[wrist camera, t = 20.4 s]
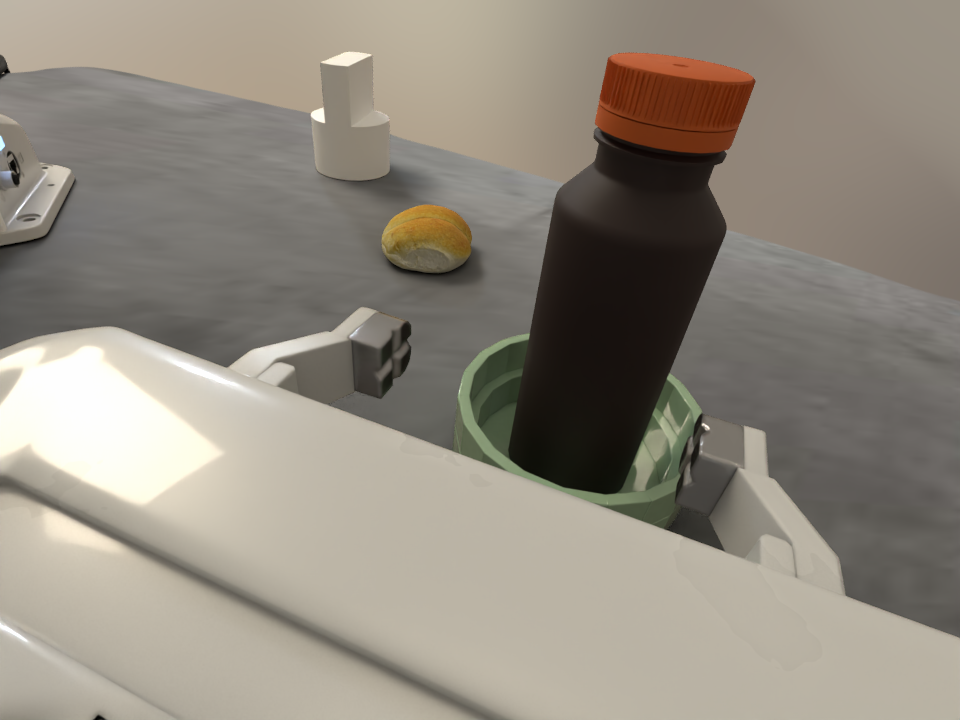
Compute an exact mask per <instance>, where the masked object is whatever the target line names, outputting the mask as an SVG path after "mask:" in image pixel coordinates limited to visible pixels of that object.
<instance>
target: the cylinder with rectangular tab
mask: <svg viewBox="0 0 960 720" xmlns="http://www.w3.org/2000/svg"><path fill="white" fill-rule="evenodd" d="M320 67H321V78H322V92H323V105H324V108H321V109H318V110H315V111H313V112H312V113H311V121H312V132H313V143H314V154H315V164H316V170H317V171H318V172H319V173H321V174H323V175H325V176H328V177H331V178H336V179H341V180H356V181H361V180H371V179H376V178H380V177H382V176H385V175H386V174H387V173H389V170H390V131H389V117H388V116H387V115H386V114H384V113H382V112H379V111H376V110H374V104H373V103H374V102H373V63H372V55H371V54H365V53H358V52H345V53H342V54H340V55H337V56H335V57H333V58H330V59H328V60H325V61H323V62H321V63H320Z"/></svg>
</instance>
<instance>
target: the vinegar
mask: <svg viewBox="0 0 960 720" xmlns="http://www.w3.org/2000/svg"><path fill="white" fill-rule="evenodd" d="M754 84H755V79H754V78H753V77H752V76H751V75H749V74H748V73H746V72H743V71H740V70H737V69H734V68H731V67H727V66H724V65H719V64H715V63H710V62H705V61H700V60H694V59H689V58H683V57H676V56H668V55H659V54H648V53H618V54H615V55H612V56H610V57H609V58H608V62H607V66H606V71H605V76H604V80H603V85H602V90H601V94H600V101H599V105H598V110H597V115H596V120H595V124H596V125H597V126H598V128H596V129H595V131H594V139H595V140H596V141H597V142H598V143H599V146H598V150H597V154H596V159H595V161H594V162H593V163H592V164H591V165H590V166H588V167H587V168H585V169H584V170H583V171H581V172H580V173H579V174H578V175H576V176H575V177H574V178H572V179H571V180H570V181H568V182H567V183H566V184H564V185H563V186H562V187H561V188H560V189H559V191H558V192H557V194H556V198H555V202H554V207H553V212H552V217H551V223H550V228H549V234H548V239H547V244H546V250H545V255H544V260H543V266H542V271H541V276H540V282H539V287H538V292H537V298H536V303H535V309H534V314H533V319H532V325H531V330H530V335H529V341H528V346H527V351H526V357H525V362H524V367H523V373H522V378H521V384H520V389H519V394H518V400H517V405H516V410H515V416H514V421H513V426H512V432H511V437H510V443H509V448H508V452H509V457H510V460H511V461H512V462H513V463H515V464H516V465H517V466H519V467H520V468H521V469H523V470H524V471H526V472H528V473H531V474H533V475H535V476H538V477H540V478H542V479H545V480H547V481H549V482H552V483H554V484H556V485H559V486H561V487H563V488H569V489H575V490H581V491H587V492H593V493H599V494H605V495H607V494H616V493H617V492H619V491H620V490H621V489H622V488H623V485H624V483H625V481H626V478H627V476H628V473H629V471H630V468H631V466H632V464H633V461H634V459H635V456H636V454H637V451H638V449H639V446H640V444H641V441H642V439H643V436H644V434H645V431H646V429H647V427H648V424H649V422H650V419H651V417H652V414H653V412H654V409H655V407H656V404H657V402H658V399H659V397H660V394H661V392H662V390H663V387H664V385H665V382H666V380H667V377H668V375H669V372H670V370H671V367H672V365H673V362H674V360H675V357H676V355H677V353H678V350H679V348H680V345H681V343H682V340H683V338H684V335H685V333H686V330H687V328H688V325H689V323H690V320H691V318H692V316H693V313H694V311H695V308H696V306H697V303H698V301H699V298H700V296H701V293H702V291H703V288H704V286H705V284H706V281H707V279H708V276H709V274H710V271H711V269H712V266H713V264H714V261H715V259H716V256H717V254H718V251H719V249H720V247H721V244H722V242H723V239H724V237H725V234H726V223H725V219H724V217H723V215H722V213H721V211H720V209H719V207H718V205H717V202H716V201H715V198H714V196H713V194H712V192H711V190H710V188H709V186H708V181H709V178H710V175H711V173H712V170H713V168H714V165H717V164H720V163H722V162H723V161H724V159H725V157H726V155H727V154H726V152H725V151H724V150H728V149H729V148H730V147H731V145H732V143H733V140H734V138H735V135H736V132H737V130H738V127H739V124H740V122H741V119H742V116H743V114H744V111H745V108H746V105H747V103H748V100H749V98H750V95H751V92H752V90H753V87H754Z"/></svg>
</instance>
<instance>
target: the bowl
mask: <svg viewBox="0 0 960 720" xmlns="http://www.w3.org/2000/svg"><path fill="white" fill-rule="evenodd" d="M529 335H530V333H527V334H523V335H519V336H515V337H511V338H506V339H503V340H501V341H499V342H498V343H496V344H494V345H492V346H490V347H489V348H487V349H485V350H483V351H481V353H479V354H478V356H477V357H476V358H475V359H474V360H473V361H472V363H471V364H470V365H469V366H468V367H467V369H466V370H465V371H464V373H463V377H462V381H461V385H460V388H459V392H458V398H457V409H456V420H455V430H454V441H453V452H456V453H459V454H461V455H464V456H467V457H469V458H472V459H475V460H478V461H480V462H483V463H486V464H488V465H491V466H494V467H497V468H499V469H502V470H505V471H507V472H510V473H513V474H515V475H518V476H521V477H524V478H526V479H529V480H532V481H535V482H537V483H540V484H543V485H545V486H548V487H551V488H554V489H556V490H559V491H562V492H564V493H567V494H570V495H573V496H575V497H578V498H581V499H583V500H586V501H589V502H592V503H594V504H597V505H600V506H602V507H605V508H608V509H611V510H613V511H616V512H619V513H621V514H624V515H627V516H630V517H632V518H635V519H638V520H640V521H643V522H646V523H649V524H651V525H654V526H657V527H659V528H662V529H665V530H667V528H668V527H669V526H670V525H671V523H672V522H673V521H674V520H675V518H676V516H677V514H678V512H679V510H680V509H681V507H682V506H680V505H677V504H675V495H676V486H677V482H678V480H679V478H680V476H681V475H680V473H679V472H678V469H679V463H680V458H681V455H682V452H683V449H684V446H685V444H686V442H687V439H688V437H690V436H692V435H693V433H694V425H695V423H696V420H697V418H698V417H699V415H700V414H701V413H702V410H701V408H700V407H699V405H698V404H697V403H696V401H695V400H694V398H693V397H692V396H691V394H690V393H689V392H688V390H687V389H686V387H685V386H684V385H683V384H682V383H681V382H680V381H679V380H678V379H676V378H675V377H674V376H673V375H672V374H670V373H669V375H668V377H667V380H666V382H665V385H664V387H663V390H662V392H661V394H660V397H659V399H658V402H657V404H656V407H655V409H654V412H653V414H652V417H651V419H650V422H649V424H648V427H647V429H646V431H645V434H644V436H643V439H642V441H641V444H640V446H639V449H638V451H637V454H636V456H635V459H634V461H633V464H632V466H631V468H630V471H629V473H628V476H627V478H626V481H625V483H624V485H623V488H622V489H621V490H620V491H619V492H617V493H616V494H607V495H605V494H599V493H593V492H587V491H581V490H575V489H569V488H563V487H561V486H559V485H556V484H554V483H552V482H549V481H547V480H545V479H542V478H540V477H538V476H535V475H533V474H531V473H528V472H526V471H524V470H523V469H521V468H520V467H519V466H517V465H516V464H515V463H513V462H512V461H511V460H510V457H509V452H508V448H509V443H510V437H511V432H512V426H513V421H514V416H515V410H516V405H517V400H518V394H519V389H520V384H521V378H522V373H523V367H524V362H525V357H526V351H527V346H528V341H529Z"/></svg>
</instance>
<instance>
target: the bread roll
mask: <svg viewBox="0 0 960 720" xmlns="http://www.w3.org/2000/svg"><path fill="white" fill-rule="evenodd" d="M471 241H472V236H471V231H470V228H469V227H468V225H467V224H466V222H465V221H464V220H463V219H462V218H461V217H460V216H459V215H458V214H457V213H456V212H454V211H452V210H449V209H447V208H445V207H440V206H434V205H422V206H417V207H414V208H411V209H408V210H406V211H404V212H402V213H400V214H398V215H396V216H395V217H394V218H393V219H392V220H391V221H390V222H389V224H388V225H387V227H386V228H385V230H384V232H383V235H382V250H383V252H384V254H385V256H386V257H387V258H388V259H389V260H390V261H391V262H392V263H393V264H395V265H397V266H399V267H401V268H403V269H408V270H414V271H420V272H426V273H444V272H448V271H451V270H453V269H455V268H457V267H459V266H460V265H462V264H463V263H464V262H465V261H466V260H467V259H468V257H469V255H470V254H471V246H470V244H471Z"/></svg>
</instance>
